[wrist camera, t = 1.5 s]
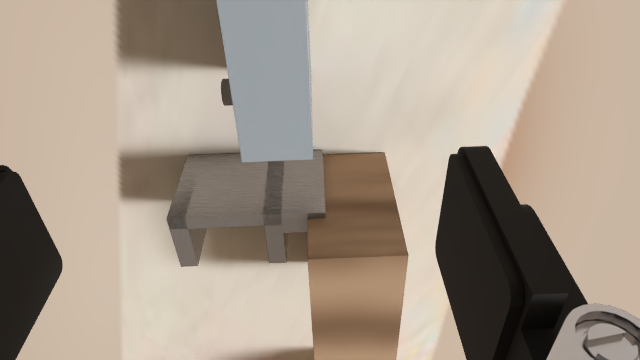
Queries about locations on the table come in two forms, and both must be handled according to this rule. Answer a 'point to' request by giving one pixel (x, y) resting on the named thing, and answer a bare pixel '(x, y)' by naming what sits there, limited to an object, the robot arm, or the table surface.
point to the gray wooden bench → (245, 200)
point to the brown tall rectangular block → (356, 262)
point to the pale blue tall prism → (268, 77)
